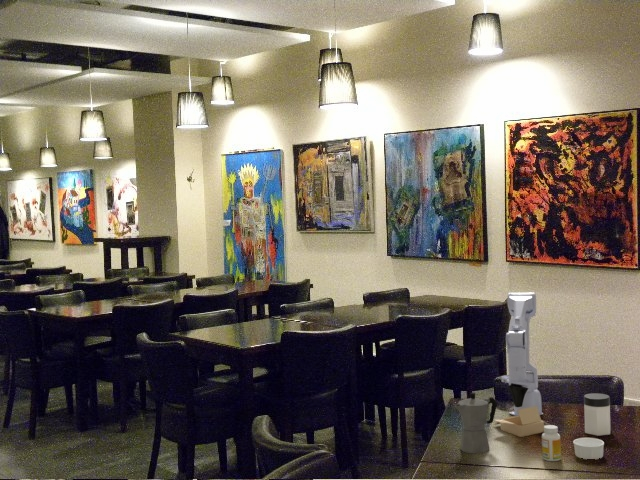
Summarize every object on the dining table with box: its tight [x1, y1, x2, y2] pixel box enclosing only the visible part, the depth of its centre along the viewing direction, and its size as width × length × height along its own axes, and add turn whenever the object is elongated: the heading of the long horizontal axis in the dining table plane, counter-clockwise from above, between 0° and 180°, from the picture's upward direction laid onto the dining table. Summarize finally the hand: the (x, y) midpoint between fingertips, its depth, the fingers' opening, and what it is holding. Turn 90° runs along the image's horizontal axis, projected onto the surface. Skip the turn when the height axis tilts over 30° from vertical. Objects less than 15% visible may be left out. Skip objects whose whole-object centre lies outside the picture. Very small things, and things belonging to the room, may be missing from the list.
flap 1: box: [493, 415, 519, 426], centre depth 277 cm, size 9×1×5 cm
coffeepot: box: [454, 392, 498, 455], centre depth 253 cm, size 15×9×18 cm, turn 113°
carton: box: [500, 416, 545, 438], centre depth 271 cm, size 10×10×4 cm
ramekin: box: [572, 437, 605, 460], centre depth 242 cm, size 9×9×4 cm
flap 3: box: [518, 406, 542, 425], centre depth 267 cm, size 8×1×5 cm, turn 117°
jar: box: [583, 392, 611, 437], centre depth 265 cm, size 9×8×12 cm
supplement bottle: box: [541, 424, 562, 462], centre depth 241 cm, size 5×5×10 cm
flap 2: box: [493, 419, 515, 425], centre depth 267 cm, size 1×5×5 cm
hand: (518, 406), depth 272 cm, fingers closed
